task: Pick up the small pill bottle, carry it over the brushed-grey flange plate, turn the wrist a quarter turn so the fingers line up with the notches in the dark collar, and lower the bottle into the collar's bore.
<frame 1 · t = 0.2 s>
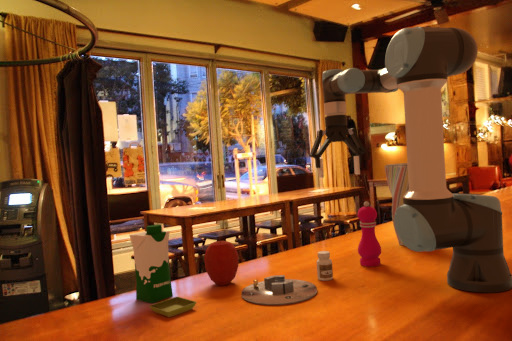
hand: (339, 176, 158), 28 cm above the bar counter, fingers open, 13 cm apart
olive square tray: (173, 312, 112), on the bar counter
apple: (223, 284, 133), on the bar counter
pepper mill: (370, 264, 143), on the bar counter
milk carton: (154, 298, 124), on the bar counter
vase: (408, 245, 167), on the bar counter
pill bottle: (325, 279, 130), on the bar counter
flange plate: (279, 292, 120), on the bar counter
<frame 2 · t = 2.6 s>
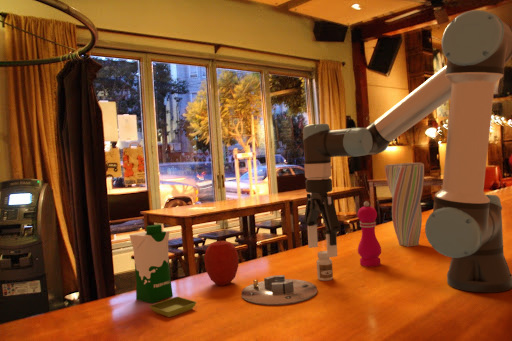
hand: (322, 251, 130), 8 cm above the bar counter, fingers open, 13 cm apart
nothing on the bar counter moved.
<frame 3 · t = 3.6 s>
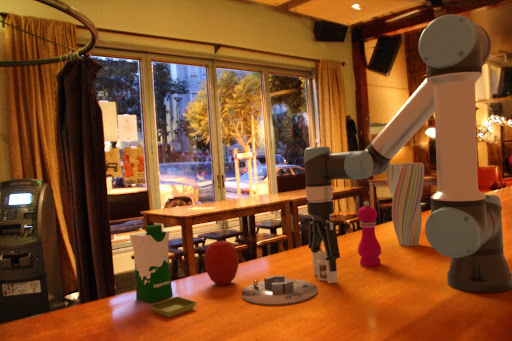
hand: (325, 277, 130), 0 cm above the bar counter, fingers open, 9 cm apart
nothing on the bar counter moved.
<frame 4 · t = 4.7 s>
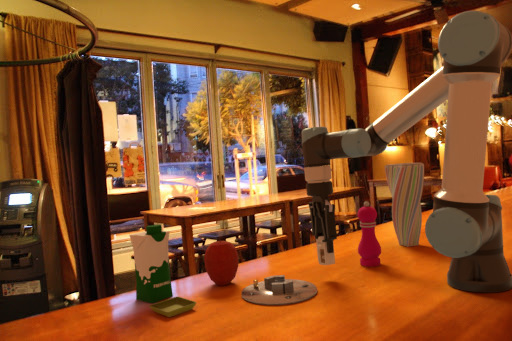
hand: (326, 262, 130), 5 cm above the bar counter, fingers closed on pill bottle, 4 cm apart
pill bottle: (326, 264, 130), point 4 cm above the bar counter, touching gripper
everything else where it was.
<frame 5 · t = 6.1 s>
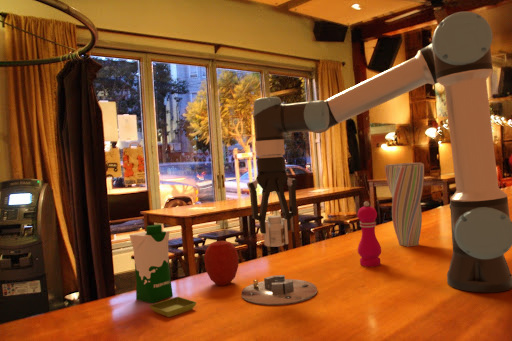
hand: (276, 244, 120), 13 cm above the bar counter, fingers closed on pill bottle, 4 cm apart
pill bottle: (276, 246, 120), point 12 cm above the bar counter, touching gripper
everything else where it was.
when the fingers open (2 cm above the bar counter, at t = 7.8 s): pill bottle stays where it is, resting on flange plate.
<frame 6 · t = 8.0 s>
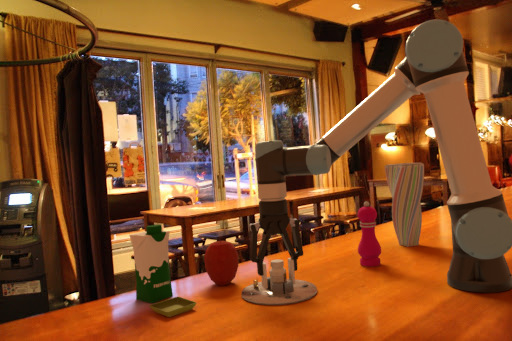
hand: (278, 285, 120), 2 cm above the bar counter, fingers open, 7 cm apart
pill bottle: (279, 290, 120), point 1 cm above the bar counter, touching flange plate
everything else where it was.
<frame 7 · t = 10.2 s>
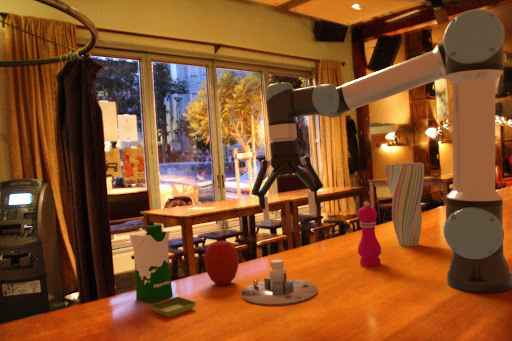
hand: (290, 217, 124), 19 cm above the bar counter, fingers open, 13 cm apart
nothing on the bar counter moved.
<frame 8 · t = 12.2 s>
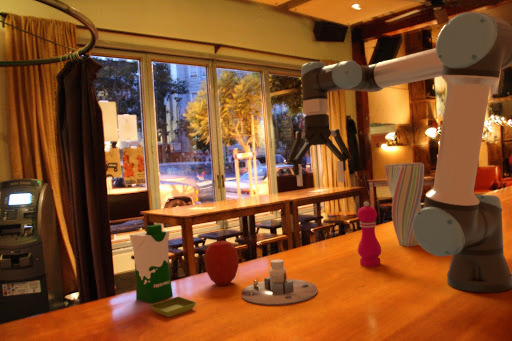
hand: (320, 184, 138), 27 cm above the bar counter, fingers open, 13 cm apart
nothing on the bar counter moved.
at the end: pill bottle 0.0 cm from the flange plate (horizontally); pill bottle tilted 0°; pill bottle point 0.6 cm above the bar counter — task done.
